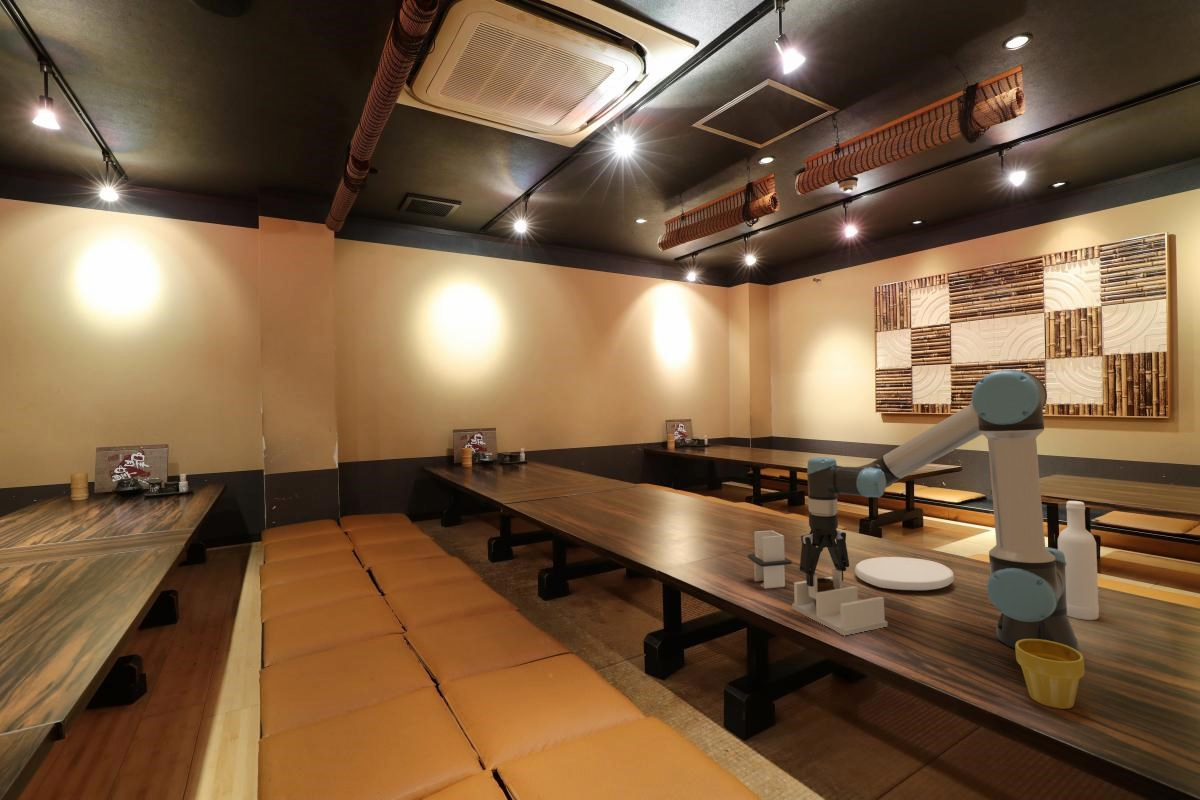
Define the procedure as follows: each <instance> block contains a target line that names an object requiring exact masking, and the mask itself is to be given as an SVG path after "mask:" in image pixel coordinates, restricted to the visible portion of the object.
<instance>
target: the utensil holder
mask: <svg viewBox="0 0 1200 800" xmlns="http://www.w3.org/2000/svg"><path fill="white" fill-rule="evenodd" d="M827 568H828V570H830V569H833V567H832V566H830V565H827ZM833 573H834V570H833ZM833 573H832V574H831V576H830V573H828V576H827V571H826V570H824V575H823V576H824V577H817V590H818V592H823V591H829V590H834V589H835V588H834V586H833V585H834V584H833V580H831V579H829V578H826V577H833ZM814 603H815V606H816V599H814Z"/></svg>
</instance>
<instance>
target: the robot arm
mask: <svg viewBox="0 0 1200 800" xmlns="http://www.w3.org/2000/svg"><path fill="white" fill-rule="evenodd" d="M1047 397H1048V393H1047V389H1046V385H1045V384H1044V382H1043V381H1041V379H1040V378H1039V377H1037V376H1036V375H1034V374H1032V373H1029V372H1027V371H1023V370H1017V369H1002V370H996V371H993V372H991V373H989V374H986V375H985V376H983V377H981V379H979V380H978V381H977V382H976V384H975V386H974V387H973V389H972V393H971V400H970V404H969V405H967V406H966V407H964V408H961V409H960V410H959V411H957V412H955V413H953V414H951V415H950V416H949V417H946V418H944V420H941V421H940V422H938V423H936V424H934V425H933V426H931V427H930V428H927V429H926V430H924V431H923V432H921V433H919V434H918V435H916V436H914V437H913V438H911V439H908V441H906V442H904V443H902V444H901V445H898V447H896V448H894V449H893V450H890V451H889V452H887V453H885V454H884V455H883V456H882V455H881V456H880V457H879V458H877V459H875V460H873V461H872V462H870V463H867V464H863V465H861V466H843V465H838V464H837V460H836V459H835V458H834V457H823V456H821V457H818V456H817V457H811V458H809V459H808V461H807V469H806V470H807V471H806V476H807V492H808V494H807V501H808V504H807V505H808V512H809V513H808V526H809V528H810V532H809V534H808V535H800V541H801V551H800V562H799V572H802V573H804V574H805V575H806V580H805V581H806V582H807V585H808V589H809V596H810V597H812V598H814V599H816V593H817V592H818V590H817V578H818V574H815V572H816V569H817V566H818V563H819V559H820V556H821V552H823V551H824V549H826V548H827V551H828V553H829V556H830V557H831V561H832V563H833V566H834V568H831V574H832V577H833V584H834V585H833V586H834V588H835V589H840V588H843V582H844V572H846V571H847V568H849V567H850V560H849V555H848V547H847V543H846V539H847V533H846V532H844V531H840V530H837V529H838V528H839V516H838V515H837V513H838V495H847V496H848V495H849V496H857V497H866V498H881V497H882V496H883V495H884V493H885V491H886V489H887V488H889V487H891V486H892V485H893V484H895V483H896V482H898V481H899V480H902V479H903V478H904V477H907V476H909V475H910V474H912V473H914V472H916V471H918V470H919V469H922V468H923V467H926V466H927V465H929V464H930V463H932V462H934V461H936V460H938V459H939V458H941V457H943V456H945V455H947V454H949V453H950V452H953V451H954V450H956V449H959V447H961V446H962V447H963V446H964V445H966V444H968V443H969V442H971V441H973V440H975V439H977V438H978V437H980V436H982V435H983V436H984V437H985V438H986V439H987V447H988V457H989V469H990V470H989V471H990V484H991V493H992V494H991V495H992V505H993V518H994V519H993V521H994V531H995V545H994V547H992V548H991V549H990V550H989V551H988V556H989V557H988V558H989V570H990V571H989V572H990V576H989V577H988V579H987V583H986V591H987V596H988V598H989V600H990V601H991V603H992V604H993V606H994V607H995V608H996V609H997V610H999V612H1000V616H999V618H998V621H997V624H996V627H995V628H996V629H995V631H996V638H997V640H999V641H1000V642H1001V643H1003V644H1005V645H1006V646H1008V647H1010V648H1013V649H1015V644H1016V642H1017V641H1019V640H1022V639H1041V640H1048V641H1053V642H1057V643H1061V644H1064V645H1067V646H1069V647H1071V648H1074V649H1075V650H1077V651H1079V643H1078V639H1077V637H1076V635H1075V632H1074V629H1073V626H1072V624H1071V622H1070V619H1069V618H1068V617H1069V616H1067V601H1066V574H1065V566H1066V562H1065V556H1064V553H1063V552H1062V551H1060V550H1058V548H1053V547H1048V546H1046V540H1045V529H1044V516H1043V505H1042V493H1041V480H1040V470H1039V469H1040V468H1039V458H1038V457H1039V456H1038V445H1037V438H1038V436H1039V435H1041V434H1042V433H1043V432H1044V431H1045V422H1044V421H1045V420H1044V407H1045V405H1046V403H1047V399H1048V398H1047ZM833 570H834V573H833Z"/></svg>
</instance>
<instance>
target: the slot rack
mask: <svg viewBox="0 0 1200 800" xmlns="http://www.w3.org/2000/svg"><path fill="white" fill-rule="evenodd" d="M825 578H829V579H831V580H833V576H825ZM858 591H859V590H858V586H854V585H852V586H846V587H842V588H840V589H834V590H829V591H823V592H817V593H816V606H815V603H814V598H812V597H810V596H809V589H808V585H807V582H806V580H802V581H797V582H796V581H795V582H793V593H794V597H793V599H794V602H793V603H792V604H791V605H792V607H791V608H792V610H793V611H795V612H797V613H799V614H801V615H803V616H805V617H806V616H807V617H806V618H808V617H809V618H808V619H810V618H811V619H810V620H812V619H813V621H814V620H815V622H816V621H817V622H816V623H818V622H819V623H818V624H820V623H821V624H820V625H822V624H823V625H822V626H824V625H825V626H827V627H829V628H831V629H833V630H835V631H837V632H839V633H840V634H839V633H838V634H839V635H841V634H842V635H844V636H843V637H846V636H845V635H849V634H854V635H856V634H855V633H859V632H863V633H865V632H864V631H868V630H873V629H878V628H882V629H884V628H883V627H887V626H889V625H888V621H887V620H886V619H885V597H882V596H876V597H871V598H870V597H869V598H863V599H860V600H859V594H858V593H859V592H858ZM825 626H824V627H825ZM827 627H826V628H827ZM829 628H828V629H829ZM887 628H888V627H887ZM831 629H830V630H831ZM833 630H832V631H833ZM878 630H879V629H878ZM835 631H834V632H835ZM873 631H874V630H873ZM837 632H836V633H837ZM868 632H869V631H868ZM859 634H860V633H859ZM842 635H841V636H842ZM849 636H850V635H849Z"/></svg>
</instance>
